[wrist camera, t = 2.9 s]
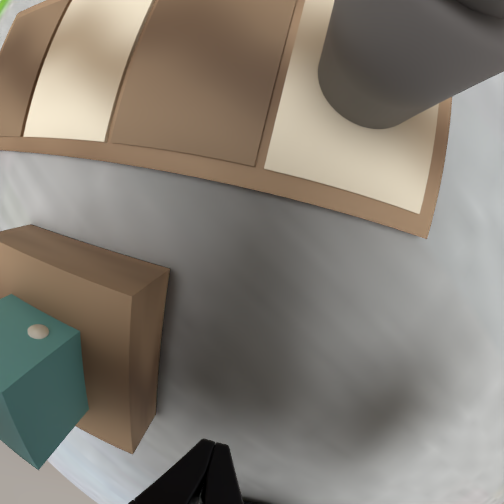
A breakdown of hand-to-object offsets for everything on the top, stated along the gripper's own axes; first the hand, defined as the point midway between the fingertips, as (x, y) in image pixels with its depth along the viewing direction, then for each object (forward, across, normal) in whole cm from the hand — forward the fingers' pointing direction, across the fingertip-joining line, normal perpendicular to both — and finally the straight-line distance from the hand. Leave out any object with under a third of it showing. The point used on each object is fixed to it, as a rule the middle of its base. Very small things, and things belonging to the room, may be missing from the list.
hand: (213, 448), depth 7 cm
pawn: (+3, -2, -12) cm, 13 cm away
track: (+4, +6, -12) cm, 14 cm away
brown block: (+4, +7, 0) cm, 8 cm away
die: (+1, +7, 0) cm, 7 cm away
